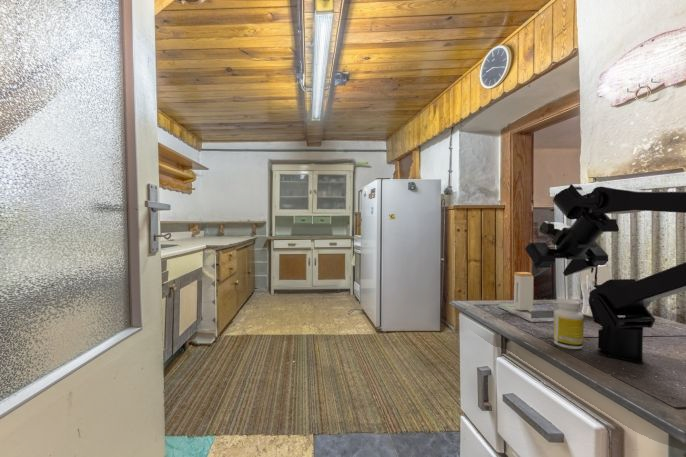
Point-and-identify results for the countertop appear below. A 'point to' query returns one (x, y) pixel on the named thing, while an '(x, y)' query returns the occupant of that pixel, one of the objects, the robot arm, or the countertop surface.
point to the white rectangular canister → (523, 290)
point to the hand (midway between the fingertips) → (548, 274)
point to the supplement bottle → (568, 325)
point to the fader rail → (530, 313)
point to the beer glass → (592, 284)
